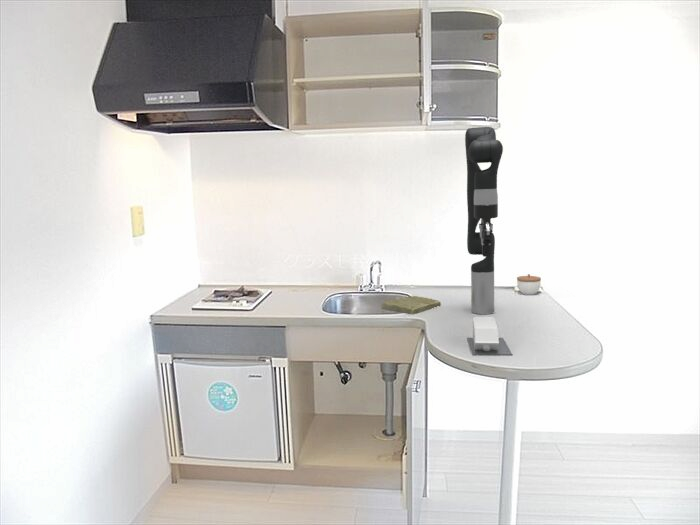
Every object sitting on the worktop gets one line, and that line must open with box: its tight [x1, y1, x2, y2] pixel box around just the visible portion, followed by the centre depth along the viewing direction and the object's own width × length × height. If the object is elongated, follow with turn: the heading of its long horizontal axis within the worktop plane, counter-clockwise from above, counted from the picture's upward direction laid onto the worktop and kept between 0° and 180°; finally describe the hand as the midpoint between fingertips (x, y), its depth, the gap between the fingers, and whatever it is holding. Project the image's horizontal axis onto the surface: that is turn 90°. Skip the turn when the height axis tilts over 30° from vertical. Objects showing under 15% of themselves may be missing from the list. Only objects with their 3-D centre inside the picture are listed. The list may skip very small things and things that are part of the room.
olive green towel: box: [381, 295, 442, 315], centre depth 227 cm, size 19×20×4 cm
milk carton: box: [472, 316, 499, 351], centre depth 167 cm, size 7×7×19 cm
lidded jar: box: [516, 273, 541, 296], centre depth 245 cm, size 11×11×9 cm
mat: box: [466, 337, 513, 356], centre depth 167 cm, size 18×12×1 cm, turn 173°
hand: (485, 256), depth 169 cm, fingers closed
